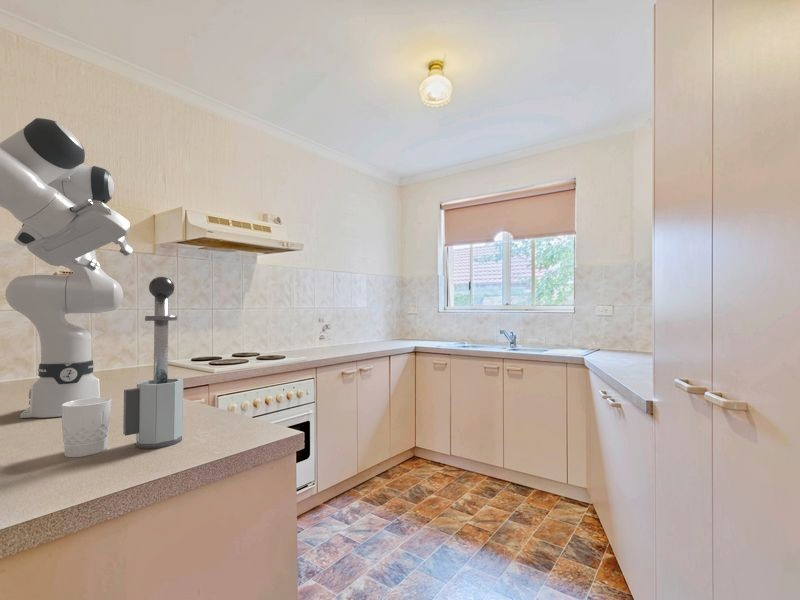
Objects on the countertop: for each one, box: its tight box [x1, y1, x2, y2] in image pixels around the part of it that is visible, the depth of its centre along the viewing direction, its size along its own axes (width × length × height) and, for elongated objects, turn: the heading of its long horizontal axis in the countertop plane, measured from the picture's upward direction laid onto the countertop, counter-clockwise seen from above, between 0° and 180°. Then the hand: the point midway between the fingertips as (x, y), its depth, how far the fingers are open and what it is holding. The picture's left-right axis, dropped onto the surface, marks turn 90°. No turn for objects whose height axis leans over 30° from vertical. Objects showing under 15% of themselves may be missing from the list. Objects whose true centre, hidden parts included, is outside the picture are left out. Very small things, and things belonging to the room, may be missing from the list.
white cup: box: [61, 397, 112, 458], centre depth 79 cm, size 8×8×10 cm
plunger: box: [144, 276, 178, 384], centre depth 85 cm, size 6×6×26 cm
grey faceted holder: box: [122, 377, 184, 450], centre depth 84 cm, size 8×11×13 cm
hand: (113, 260), depth 90 cm, fingers open, 8 cm apart
